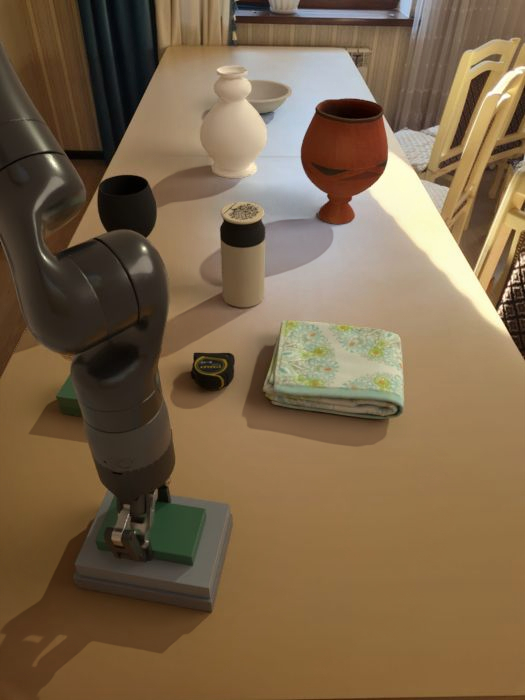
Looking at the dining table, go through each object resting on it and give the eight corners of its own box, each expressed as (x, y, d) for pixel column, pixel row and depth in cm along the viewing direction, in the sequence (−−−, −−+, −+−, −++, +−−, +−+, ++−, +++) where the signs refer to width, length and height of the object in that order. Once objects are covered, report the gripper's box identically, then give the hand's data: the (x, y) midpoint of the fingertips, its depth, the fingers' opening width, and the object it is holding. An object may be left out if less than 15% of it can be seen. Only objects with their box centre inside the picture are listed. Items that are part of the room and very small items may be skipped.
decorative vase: (261, 185, 142) (262, 82, 125) (195, 179, 144) (187, 78, 127) (271, 158, 155) (273, 62, 138) (210, 153, 157) (205, 58, 140)
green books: (60, 414, 82) (54, 396, 79) (77, 386, 86) (72, 367, 84) (131, 424, 80) (127, 406, 78) (145, 395, 85) (141, 377, 82)
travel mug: (271, 293, 106) (274, 208, 94) (248, 314, 101) (247, 227, 89) (239, 280, 109) (237, 196, 97) (214, 299, 104) (209, 213, 92)
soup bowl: (260, 95, 198) (260, 75, 193) (306, 112, 184) (307, 91, 180) (207, 108, 186) (206, 87, 182) (251, 128, 173) (251, 106, 168)
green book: (97, 549, 60) (94, 540, 59) (117, 503, 65) (114, 493, 63) (193, 566, 59) (191, 557, 58) (206, 517, 63) (205, 508, 62)
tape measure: (235, 365, 90) (235, 348, 88) (233, 395, 85) (232, 378, 83) (194, 364, 90) (192, 347, 88) (189, 394, 85) (187, 377, 83)
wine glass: (148, 259, 114) (134, 167, 101) (175, 281, 108) (164, 187, 95) (103, 276, 109) (83, 182, 96) (129, 300, 103) (110, 204, 90)
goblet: (386, 207, 133) (405, 100, 117) (363, 243, 120) (381, 129, 104) (313, 191, 139) (322, 88, 123) (284, 224, 126) (289, 113, 109)
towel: (278, 333, 97) (279, 310, 93) (399, 347, 94) (404, 324, 91) (261, 407, 83) (261, 384, 80) (401, 426, 81) (407, 403, 77)
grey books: (77, 587, 62) (67, 566, 59) (112, 504, 70) (105, 482, 67) (212, 612, 60) (210, 592, 57) (233, 524, 68) (232, 502, 65)
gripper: (120, 376, 56) (142, 473, 67) (57, 495, 45) (96, 586, 57) (190, 386, 55) (200, 482, 66) (143, 509, 44) (165, 598, 56)
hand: (152, 529), depth 61 cm, fingers closed on green book, 6 cm apart
